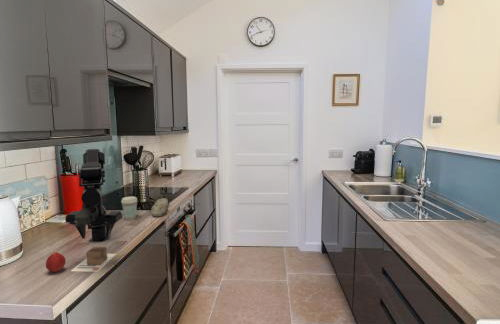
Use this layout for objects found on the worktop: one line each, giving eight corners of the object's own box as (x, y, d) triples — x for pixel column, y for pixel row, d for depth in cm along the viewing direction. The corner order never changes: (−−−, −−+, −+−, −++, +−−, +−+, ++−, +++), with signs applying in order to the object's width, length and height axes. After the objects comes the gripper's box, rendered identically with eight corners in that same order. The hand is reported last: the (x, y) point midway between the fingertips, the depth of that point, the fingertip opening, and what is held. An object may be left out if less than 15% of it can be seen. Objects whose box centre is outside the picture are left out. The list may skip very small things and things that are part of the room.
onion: (46, 278, 96) (44, 256, 95) (46, 271, 101) (44, 250, 100) (66, 273, 100) (64, 252, 99) (65, 266, 104) (64, 246, 103)
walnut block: (94, 258, 110) (93, 246, 109) (107, 258, 110) (106, 246, 109) (87, 265, 105) (86, 252, 104) (100, 265, 105) (99, 252, 104)
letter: (92, 254, 114) (92, 253, 114) (116, 254, 114) (116, 253, 114) (70, 272, 100) (70, 271, 100) (98, 272, 101) (97, 271, 100)
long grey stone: (170, 203, 195) (155, 204, 193) (170, 195, 195) (155, 197, 193) (167, 216, 161) (149, 218, 159) (166, 207, 161) (148, 209, 159)
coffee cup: (120, 221, 153) (119, 200, 151) (124, 216, 161) (123, 196, 160) (136, 220, 155) (135, 199, 153) (139, 215, 163) (138, 195, 161)
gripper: (53, 204, 96) (56, 247, 98) (107, 205, 96) (109, 248, 98) (73, 196, 107) (76, 234, 109) (121, 196, 107) (123, 235, 109)
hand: (95, 238), depth 106 cm, fingers open, 9 cm apart
